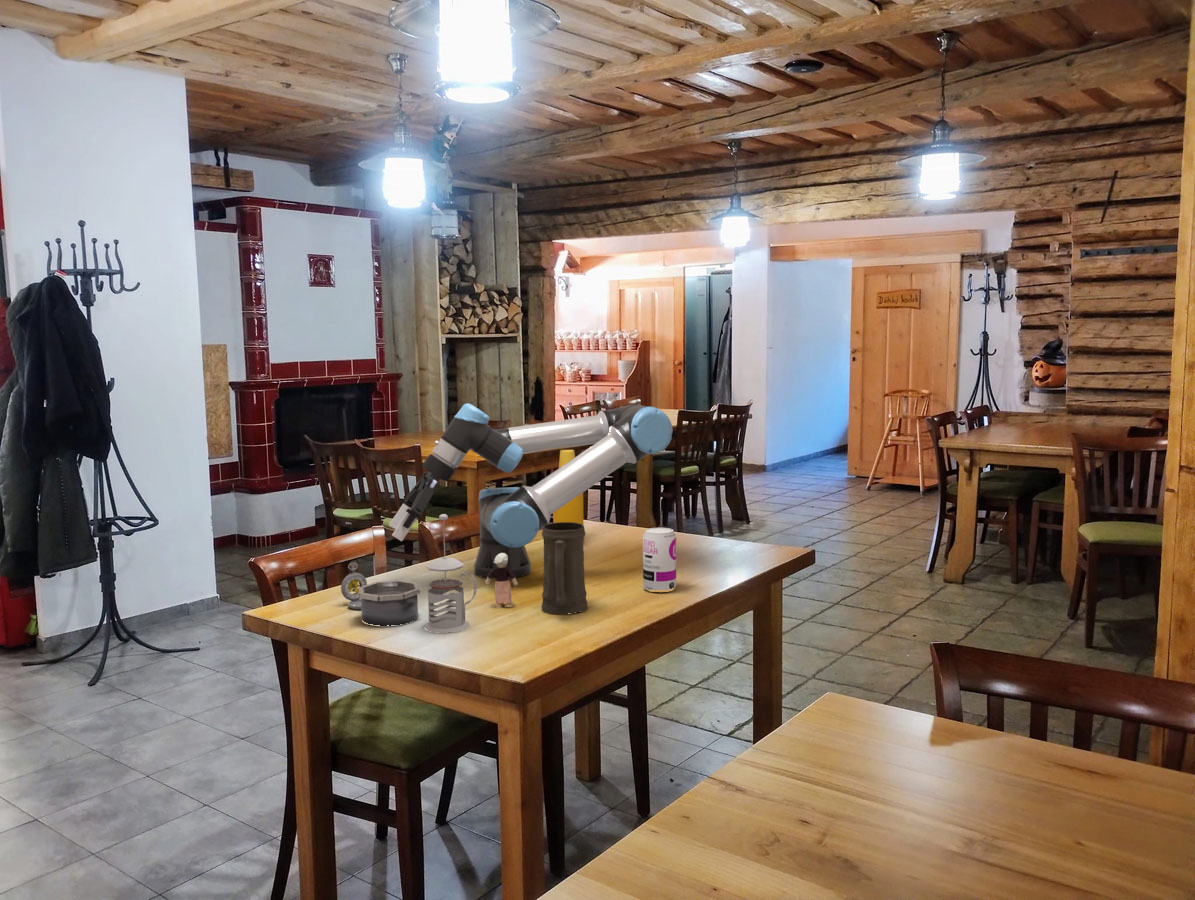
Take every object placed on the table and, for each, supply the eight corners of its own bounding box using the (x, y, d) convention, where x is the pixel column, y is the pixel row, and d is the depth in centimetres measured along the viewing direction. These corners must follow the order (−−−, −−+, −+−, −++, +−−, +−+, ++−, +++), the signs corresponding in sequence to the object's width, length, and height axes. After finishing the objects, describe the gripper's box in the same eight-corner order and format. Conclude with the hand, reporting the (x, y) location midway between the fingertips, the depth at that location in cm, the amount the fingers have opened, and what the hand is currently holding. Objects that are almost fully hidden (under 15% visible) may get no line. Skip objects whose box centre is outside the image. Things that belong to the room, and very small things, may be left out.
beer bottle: (583, 549, 284) (582, 452, 280) (552, 549, 284) (550, 452, 280) (584, 542, 293) (583, 448, 289) (554, 542, 293) (552, 449, 290)
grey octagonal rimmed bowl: (417, 608, 224) (416, 578, 223) (422, 624, 211) (421, 593, 210) (359, 613, 220) (357, 583, 219) (361, 629, 207) (360, 598, 206)
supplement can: (679, 586, 240) (679, 528, 238) (671, 595, 232) (671, 534, 230) (648, 584, 243) (648, 526, 241) (639, 592, 235) (638, 532, 233)
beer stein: (540, 601, 227) (539, 520, 224) (585, 600, 228) (584, 519, 225) (542, 625, 212) (541, 538, 209) (590, 623, 213) (589, 537, 210)
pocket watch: (369, 611, 221) (367, 569, 220) (336, 609, 223) (334, 567, 222) (384, 601, 229) (382, 561, 228) (351, 600, 231) (350, 559, 230)
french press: (430, 619, 215) (427, 509, 212) (481, 620, 213) (478, 510, 211) (418, 632, 205) (414, 518, 202) (471, 633, 204) (468, 518, 201)
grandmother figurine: (519, 603, 226) (517, 551, 225) (518, 608, 223) (517, 554, 221) (486, 604, 226) (485, 551, 225) (485, 608, 222) (483, 555, 221)
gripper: (425, 447, 246) (379, 516, 245) (436, 458, 223) (384, 534, 221) (450, 463, 249) (404, 531, 247) (462, 475, 225) (412, 551, 223)
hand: (395, 533), depth 234 cm, fingers open, 13 cm apart
